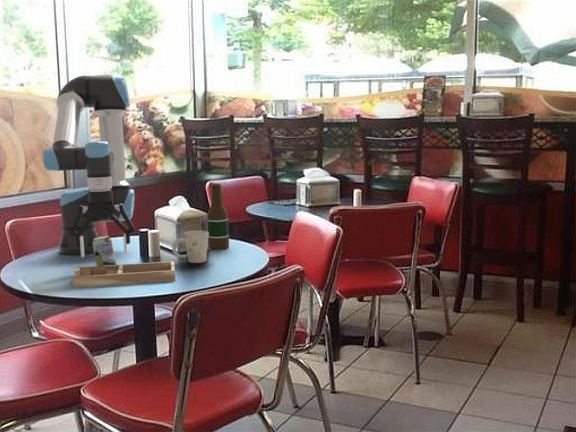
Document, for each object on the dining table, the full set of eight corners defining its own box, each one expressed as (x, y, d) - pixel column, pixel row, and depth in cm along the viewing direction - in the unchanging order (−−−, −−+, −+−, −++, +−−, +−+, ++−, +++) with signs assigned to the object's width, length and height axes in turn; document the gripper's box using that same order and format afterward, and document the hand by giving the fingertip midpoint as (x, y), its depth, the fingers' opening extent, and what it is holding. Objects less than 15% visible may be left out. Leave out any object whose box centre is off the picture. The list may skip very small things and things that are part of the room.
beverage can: (112, 275, 227) (109, 238, 225) (90, 274, 228) (88, 238, 226) (120, 270, 233) (118, 234, 231) (99, 270, 235) (97, 234, 233)
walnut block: (90, 279, 218) (89, 267, 217) (103, 277, 220) (102, 265, 219) (94, 282, 215) (93, 269, 214) (107, 280, 217) (106, 267, 216)
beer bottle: (208, 246, 268) (205, 183, 264) (228, 245, 269) (226, 182, 265) (208, 250, 260) (205, 185, 256) (229, 249, 261) (227, 184, 257)
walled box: (78, 279, 223) (77, 267, 222) (174, 273, 228) (173, 261, 227) (73, 290, 210) (72, 277, 209) (175, 283, 215) (174, 270, 214)
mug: (211, 262, 241) (210, 233, 239) (174, 266, 238) (173, 236, 236) (207, 257, 249) (206, 229, 247) (171, 260, 245) (169, 232, 244)
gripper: (57, 193, 220) (62, 259, 224) (139, 189, 225) (143, 255, 228) (61, 190, 228) (66, 255, 231) (140, 187, 232) (144, 250, 235)
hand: (104, 255), depth 229 cm, fingers open, 13 cm apart
